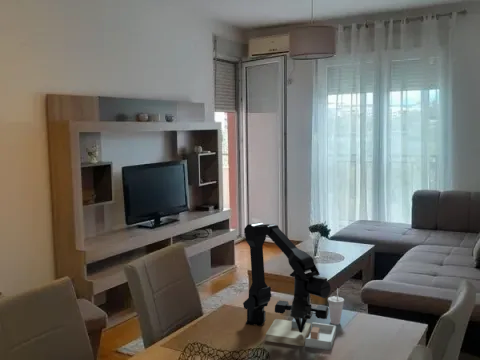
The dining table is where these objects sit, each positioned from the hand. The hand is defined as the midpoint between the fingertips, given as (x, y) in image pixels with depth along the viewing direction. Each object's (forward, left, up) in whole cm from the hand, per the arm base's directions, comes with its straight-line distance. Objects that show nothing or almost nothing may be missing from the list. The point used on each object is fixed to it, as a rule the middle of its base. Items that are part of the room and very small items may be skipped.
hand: (300, 332), depth 180 cm
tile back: (-2, +7, -1) cm, 7 cm away
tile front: (+4, 0, 0) cm, 4 cm away
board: (-5, +3, -3) cm, 7 cm away
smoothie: (+10, +21, -4) cm, 23 cm away
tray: (+7, +3, -3) cm, 8 cm away
